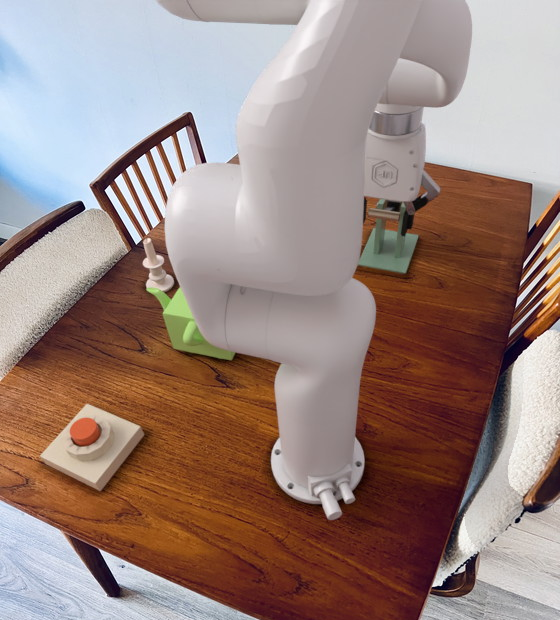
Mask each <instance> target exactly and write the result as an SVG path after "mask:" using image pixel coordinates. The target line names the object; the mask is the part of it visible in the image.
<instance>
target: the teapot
mask: <svg viewBox="0 0 560 620" xmlns="http://www.w3.org/2000/svg"><path fill="white" fill-rule="evenodd" d="M145 290H146V291H147V292H148V293H150V294H152V296H154V297H155V298H156V299H157V300H158V301H159V303H160V305H161V307H162V309H163V312H162V317H163V320H164V323H165V327H166V330H167V334H168V336H169V339H170V343H171V346H172V349H173V350H178V351H183V352H187V353H190V354H198V355H201V356H202V355H203V356H207V357H213V358H217V359H220V360H228V361H233V359H234V357H235V355H236V352H231V351H227V350H224V349H220V348H218V347H215V346H213V345H212V344H210V343H209V342H208V341H207V340H206V339H205V338H204V337H203V336H202V334H201V333H200V331H199V329H198V327H197V325H196V322H195V320H194V318H193V316H192V313H191V311H190V309H189V306H188V304H187V301H186V299H185V297H184V294H183V292H182V290H181V287H180V286H179V288H178V289H177V290H176V292H175V293H174V295H173V297H172V298H171V297H169V296H168V295H167V294H166V292H163V291H161V290H160V289H157V288H154V287H148V288H147V287H146V289H145Z"/></svg>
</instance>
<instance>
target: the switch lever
mask: <svg viewBox="0 0 560 620" xmlns="http://www.w3.org/2000/svg"><path fill="white" fill-rule="evenodd" d="M402 203H403V202H400V201H392V200H388V202H387V208H386V209H384V210H380V209H376V208H373V207H369V208H368V211H367V218H371V219H383V220H386V221H390V222H395V223H399V220H400V215H401V213H400V210H401V205H402Z"/></svg>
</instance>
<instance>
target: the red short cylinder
mask: <svg viewBox="0 0 560 620" xmlns="http://www.w3.org/2000/svg"><path fill="white" fill-rule="evenodd" d="M70 435H71V437H72V438H73V440H74V441H75V443H76V444H77V445H79V446H89V445H91V444H93V443H94V442H96V441H97V440H98V438H99V436H100V429H99V427H98V425H97V424H96V422H95V421H94V420H93V419H91V418H81V419H79V420H77V421H76V422H74V423H73V425H72V426H71V428H70Z"/></svg>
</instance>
